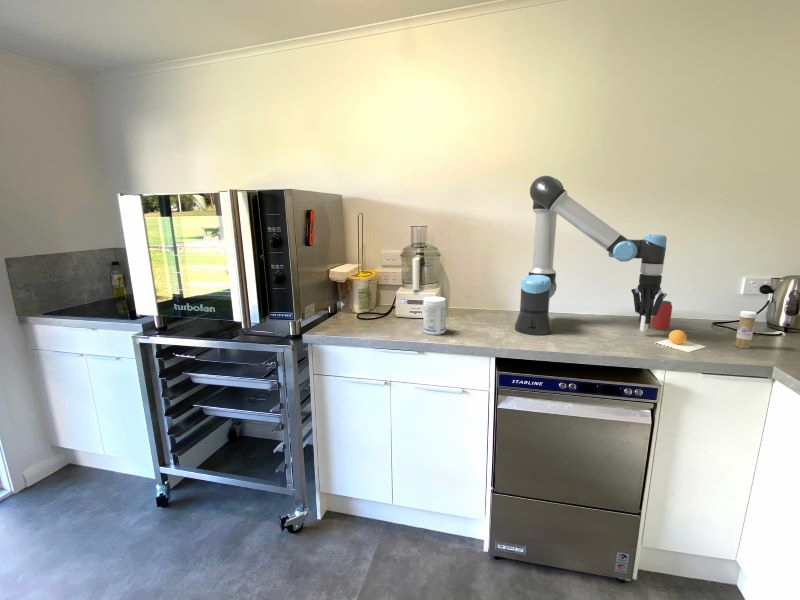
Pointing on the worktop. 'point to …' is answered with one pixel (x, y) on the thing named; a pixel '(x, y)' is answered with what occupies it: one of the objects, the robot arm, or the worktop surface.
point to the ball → (677, 337)
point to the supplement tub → (434, 315)
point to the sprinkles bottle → (745, 329)
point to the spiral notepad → (681, 345)
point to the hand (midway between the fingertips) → (643, 330)
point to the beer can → (663, 316)
